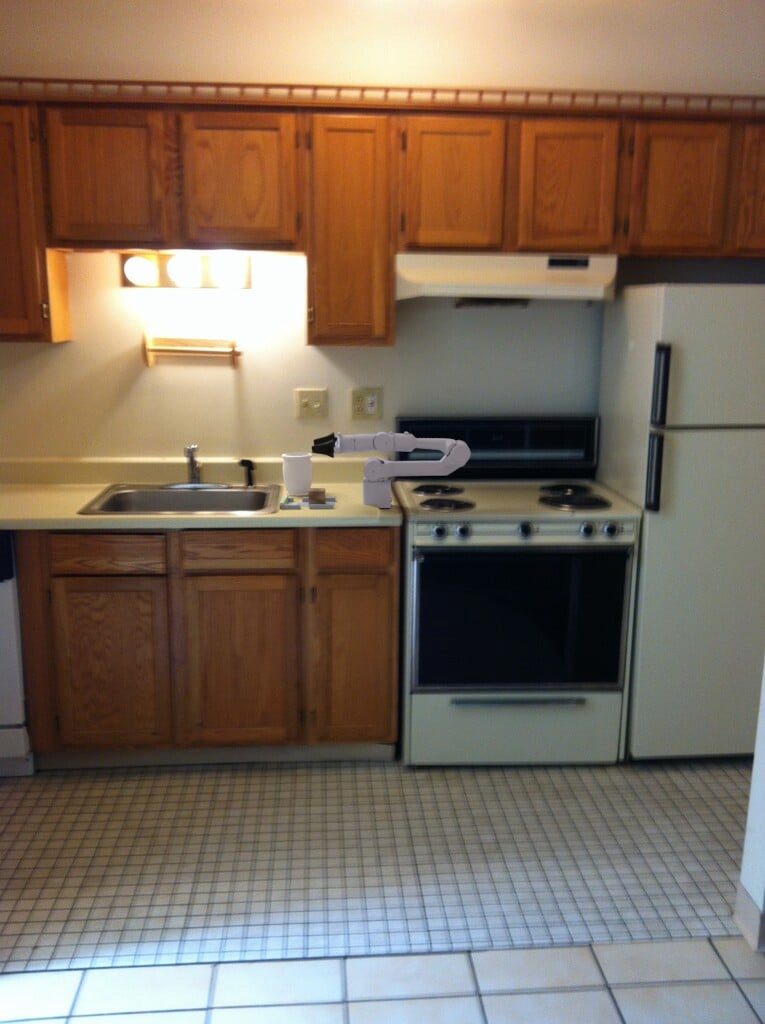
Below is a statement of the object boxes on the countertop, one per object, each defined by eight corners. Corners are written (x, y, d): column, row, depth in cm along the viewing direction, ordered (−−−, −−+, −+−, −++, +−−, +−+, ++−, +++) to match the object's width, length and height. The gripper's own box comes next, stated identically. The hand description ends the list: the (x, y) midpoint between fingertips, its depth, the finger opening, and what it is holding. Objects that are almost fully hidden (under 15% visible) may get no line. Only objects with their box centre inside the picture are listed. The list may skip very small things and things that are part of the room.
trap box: (335, 504, 283) (335, 494, 283) (332, 512, 272) (332, 502, 271) (284, 504, 284) (284, 495, 283) (279, 512, 272) (279, 502, 271)
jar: (280, 494, 299) (278, 452, 296) (308, 492, 303) (307, 450, 300) (287, 500, 290) (286, 457, 286) (316, 498, 293) (315, 455, 290)
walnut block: (325, 503, 280) (325, 488, 279) (324, 506, 275) (323, 491, 274) (310, 503, 280) (310, 488, 279) (308, 506, 275) (308, 491, 274)
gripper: (354, 425, 280) (313, 428, 280) (352, 437, 266) (309, 440, 267) (356, 446, 282) (315, 449, 283) (354, 458, 269) (312, 461, 269)
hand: (312, 446), depth 275 cm, fingers open, 7 cm apart
